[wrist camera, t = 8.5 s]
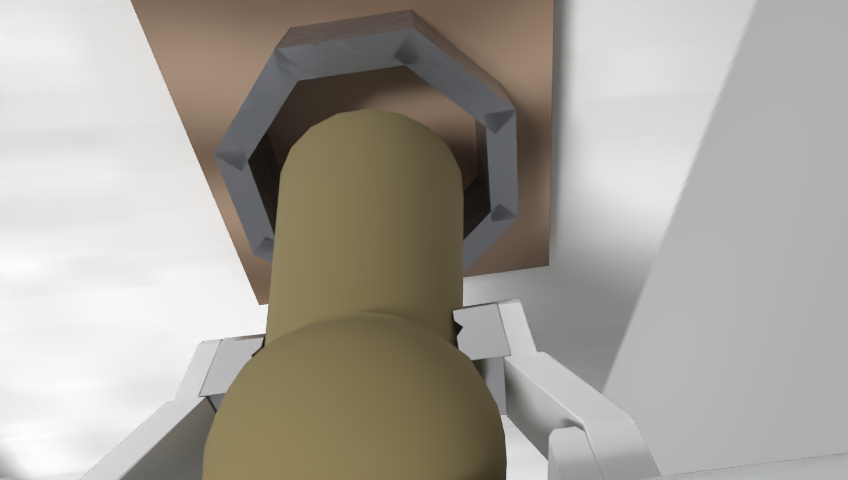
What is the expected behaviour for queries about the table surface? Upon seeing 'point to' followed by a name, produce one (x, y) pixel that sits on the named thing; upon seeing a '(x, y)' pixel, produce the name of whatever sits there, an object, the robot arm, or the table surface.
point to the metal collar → (361, 51)
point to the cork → (362, 321)
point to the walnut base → (362, 94)
